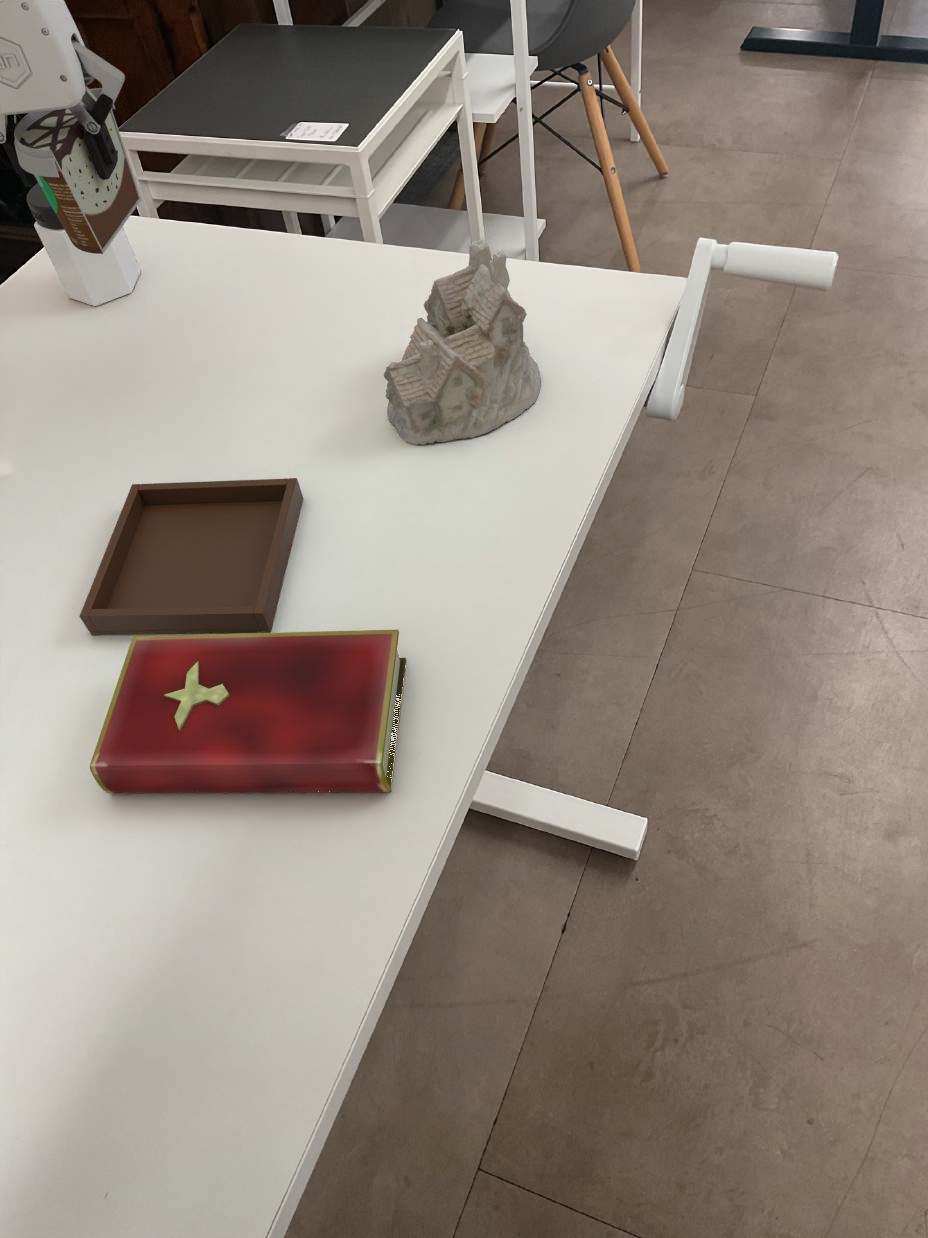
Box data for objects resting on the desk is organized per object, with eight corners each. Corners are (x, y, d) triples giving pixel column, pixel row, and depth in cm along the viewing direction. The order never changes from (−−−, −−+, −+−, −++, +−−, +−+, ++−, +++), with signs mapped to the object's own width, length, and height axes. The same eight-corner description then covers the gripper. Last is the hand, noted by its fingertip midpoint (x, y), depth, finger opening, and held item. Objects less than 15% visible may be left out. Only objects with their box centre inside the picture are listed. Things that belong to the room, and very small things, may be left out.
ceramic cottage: (509, 317, 105) (488, 185, 93) (562, 416, 95) (545, 282, 83) (367, 364, 105) (327, 237, 93) (406, 468, 95) (366, 341, 83)
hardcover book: (390, 797, 71) (379, 766, 68) (109, 798, 74) (86, 769, 71) (406, 660, 79) (397, 627, 76) (150, 666, 81) (131, 634, 78)
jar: (83, 266, 123) (39, 171, 113) (147, 261, 122) (108, 164, 112) (61, 309, 117) (13, 212, 108) (128, 304, 116) (86, 206, 107)
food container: (89, 193, 99) (45, 87, 91) (147, 191, 98) (106, 84, 90) (35, 263, 92) (-19, 155, 84) (96, 262, 90) (47, 152, 83)
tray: (91, 635, 84) (78, 616, 82) (141, 503, 94) (131, 483, 92) (270, 632, 82) (262, 613, 80) (303, 497, 92) (296, 477, 90)
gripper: (-151, -20, 76) (-33, 205, 90) (66, -47, 74) (153, 188, 87) (-111, -56, 80) (-4, 163, 94) (95, -82, 78) (173, 146, 92)
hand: (71, 173), depth 91 cm, fingers closed on food container, 6 cm apart
